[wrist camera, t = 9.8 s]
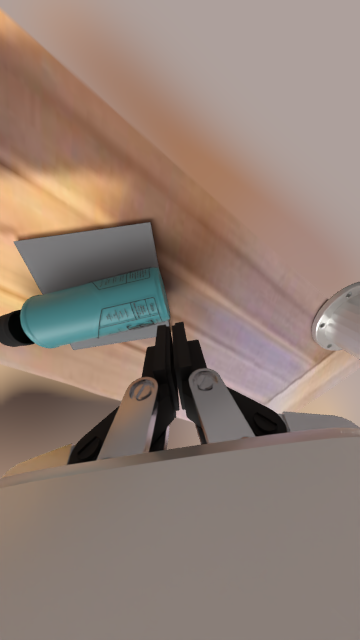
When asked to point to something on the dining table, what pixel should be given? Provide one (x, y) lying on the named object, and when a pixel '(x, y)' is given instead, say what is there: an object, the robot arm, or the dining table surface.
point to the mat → (92, 265)
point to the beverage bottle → (88, 311)
